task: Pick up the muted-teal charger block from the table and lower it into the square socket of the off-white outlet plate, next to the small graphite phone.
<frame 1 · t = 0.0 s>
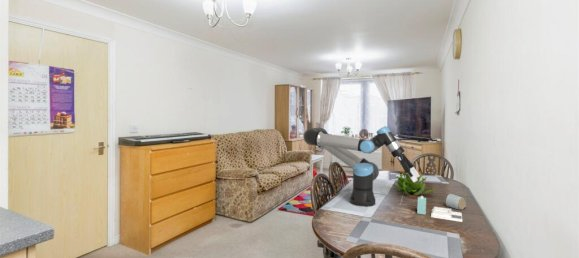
hand: (416, 179, 174), 15 cm above the table, tool tilted 35°, fingers open, 13 cm apart
potted flower: (414, 196, 193), on the table
outlet plate: (446, 216, 155), on the table
charger block: (421, 212, 160), on the table
ceramic mug: (456, 208, 169), on the table
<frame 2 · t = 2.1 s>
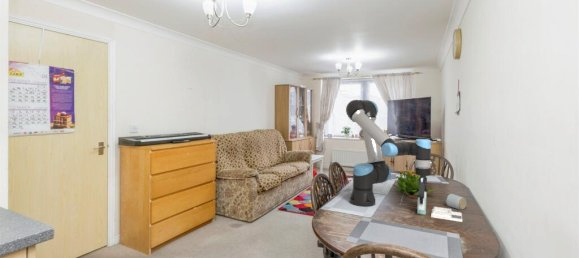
hand: (422, 206, 159), 4 cm above the table, tool pointing down, fingers open, 13 cm apart
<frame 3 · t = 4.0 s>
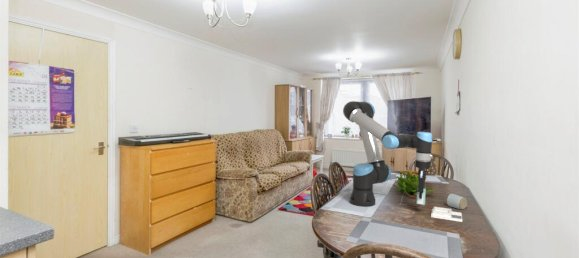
hand: (420, 202, 160), 5 cm above the table, tool pointing down, fingers closed on charger block, 4 cm apart
charger block: (420, 203, 160), point 5 cm above the table, touching gripper
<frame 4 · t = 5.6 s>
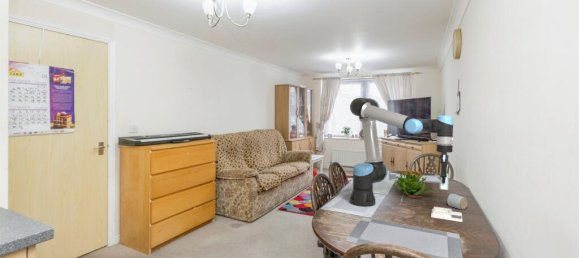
hand: (443, 188, 156), 15 cm above the table, tool pointing down, fingers closed on charger block, 4 cm apart
charger block: (443, 188, 156), point 14 cm above the table, touching gripper
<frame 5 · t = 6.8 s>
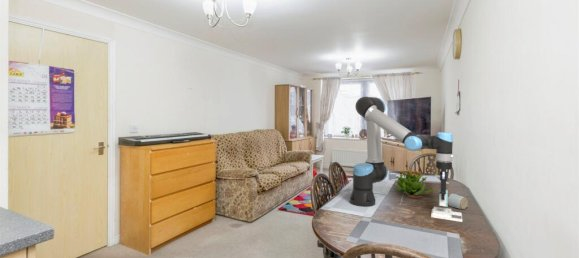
hand: (442, 204, 156), 6 cm above the table, tool pointing down, fingers closed on charger block, 4 cm apart
charger block: (443, 205, 156), point 5 cm above the table, touching gripper
when the fingers open (3 cm above the table, at t = 7.5 s): charger block drops 1 cm, resting on outlet plate.
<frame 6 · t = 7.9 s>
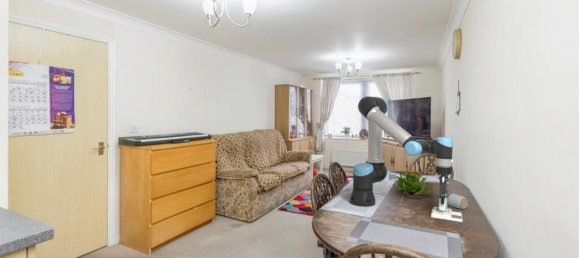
hand: (442, 207, 156), 4 cm above the table, tool pointing down, fingers open, 10 cm apart
charger block: (442, 212, 156), point 1 cm above the table, touching outlet plate
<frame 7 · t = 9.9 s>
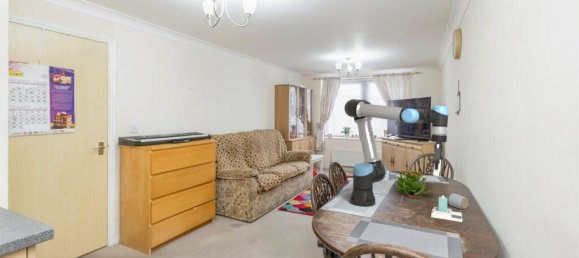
hand: (436, 173, 159), 22 cm above the table, tool pointing down, fingers open, 13 cm apart
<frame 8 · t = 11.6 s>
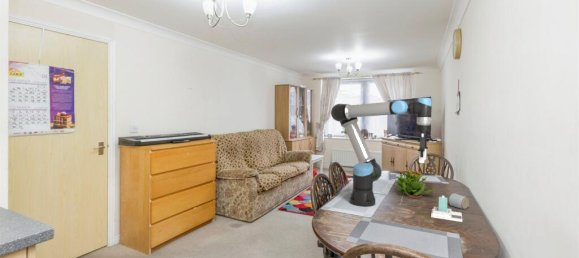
hand: (422, 161, 169), 27 cm above the table, tool pointing down, fingers open, 13 cm apart
at the end: charger block 0.2 cm from the target spot on the outlet plate, point 1.2 cm above the outlet plate's base; charger block tilted 0°; the gripper is holding nothing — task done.
